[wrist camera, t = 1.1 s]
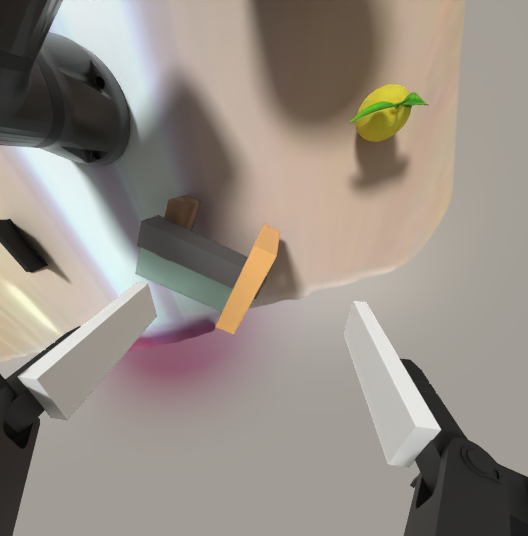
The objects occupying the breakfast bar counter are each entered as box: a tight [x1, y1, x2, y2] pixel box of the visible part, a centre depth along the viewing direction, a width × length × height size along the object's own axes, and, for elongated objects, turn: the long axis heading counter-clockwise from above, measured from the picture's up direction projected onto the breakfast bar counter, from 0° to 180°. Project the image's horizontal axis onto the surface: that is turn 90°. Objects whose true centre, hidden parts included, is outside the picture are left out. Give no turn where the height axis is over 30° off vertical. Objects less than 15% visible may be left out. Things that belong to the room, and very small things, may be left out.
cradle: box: [156, 196, 200, 261], centre depth 35 cm, size 17×10×6 cm, turn 65°
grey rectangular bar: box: [137, 215, 267, 299], centre depth 31 cm, size 19×4×4 cm, turn 65°
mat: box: [136, 247, 233, 312], centre depth 43 cm, size 23×7×1 cm, turn 65°
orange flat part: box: [216, 224, 280, 334], centre depth 32 cm, size 3×14×11 cm, turn 155°
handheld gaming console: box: [0, 219, 48, 272], centre depth 41 cm, size 12×7×10 cm
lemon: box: [349, 84, 428, 142], centre depth 24 cm, size 7×6×10 cm
